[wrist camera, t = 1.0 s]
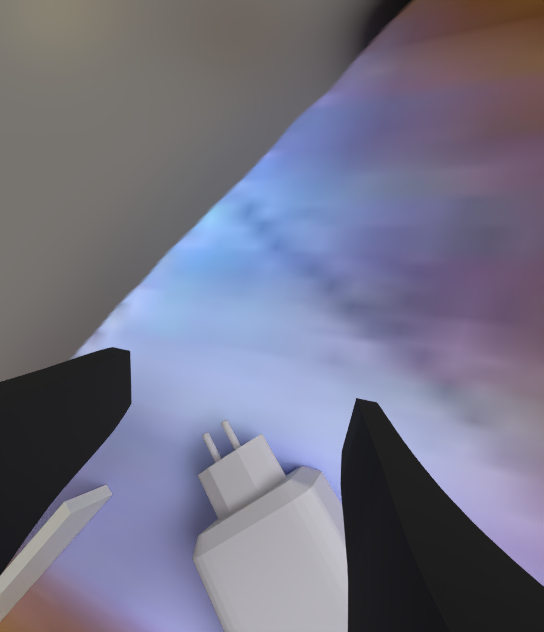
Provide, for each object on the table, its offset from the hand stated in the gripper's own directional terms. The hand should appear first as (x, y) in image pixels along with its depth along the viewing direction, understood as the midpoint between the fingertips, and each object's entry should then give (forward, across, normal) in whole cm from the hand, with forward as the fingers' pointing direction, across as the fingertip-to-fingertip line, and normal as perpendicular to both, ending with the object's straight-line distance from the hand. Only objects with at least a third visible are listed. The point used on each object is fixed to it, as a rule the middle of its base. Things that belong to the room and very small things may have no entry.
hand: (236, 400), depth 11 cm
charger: (+9, -2, +16) cm, 18 cm away
